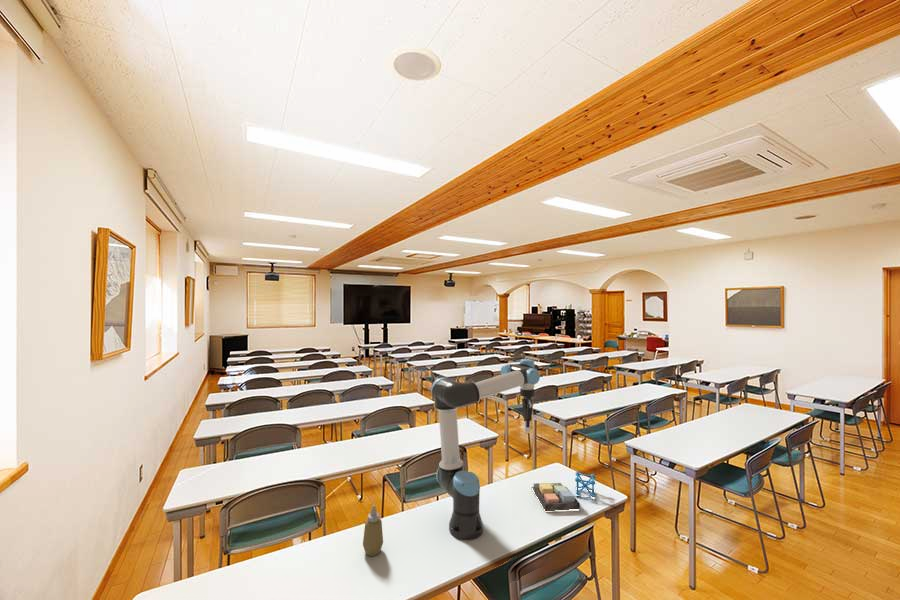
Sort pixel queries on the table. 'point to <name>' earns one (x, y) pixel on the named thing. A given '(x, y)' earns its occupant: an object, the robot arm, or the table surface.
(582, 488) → the molecular structure
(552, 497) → the terracotta key
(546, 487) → the mustard key
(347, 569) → the table surface
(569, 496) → the slate key
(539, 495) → the keypad
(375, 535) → the squeeze bottle
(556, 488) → the sage key
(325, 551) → the table surface
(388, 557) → the table surface
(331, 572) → the table surface
